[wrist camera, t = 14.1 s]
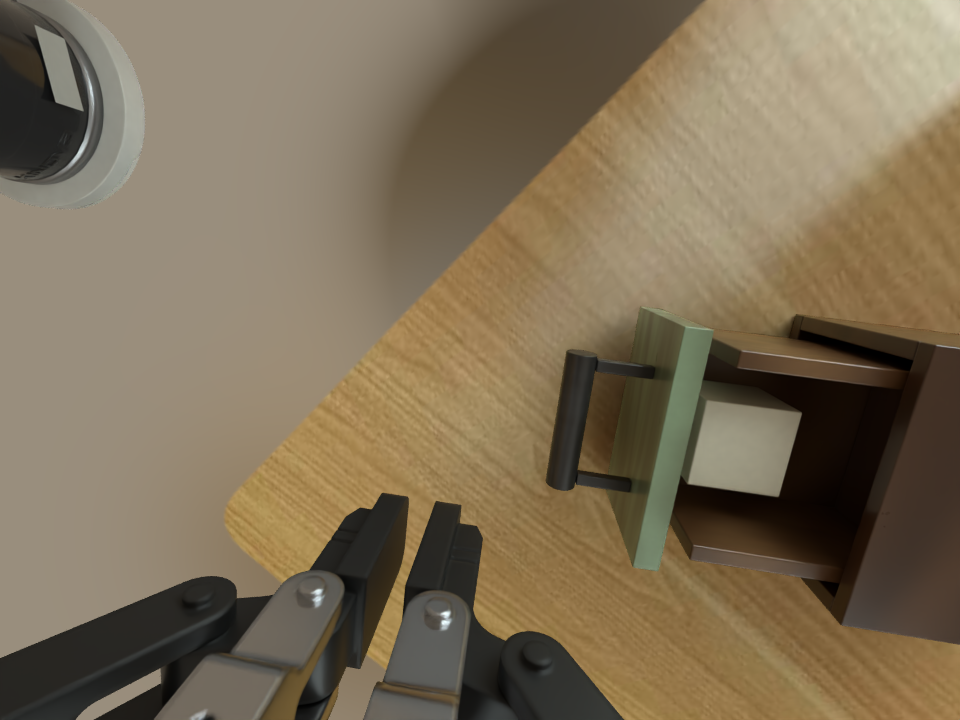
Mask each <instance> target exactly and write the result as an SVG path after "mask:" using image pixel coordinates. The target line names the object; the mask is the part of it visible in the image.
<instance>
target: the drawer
mask: <svg viewBox="0 0 960 720" xmlns="http://www.w3.org/2000/svg"><path fill="white" fill-rule="evenodd" d="M597 357H598V356H597V354H595V353H592V352H589V351H584V350H576V349H570V350H567V351H566V357H565V363H564V370H563V376H562V382H561V388H560V394H559V400H558V407H557V413H556V419H555V425H554V431H553V437H552V444H551V450H550V456H549V462H548V468H547V474H546V483H547V485H549V486H550V487H552V488H554V489H557V490H562V491H568V490H572V489H573V488H574V486H575V482H576V485H582V486H588V487H595V488H601V489H606V491H607V494H608V497H609V500H610V503H611V506H612V509H613V512H614V514H615V517H616V520H617V523H618V526H619V529H620V532H621V535H622V538H623V540H624V543H625V546H626V549H627V552H628V555H629V558H630V561H631V563H632V566H633V567H634V568H640V569H646V570H653V571H658V570H659V566H660V562H661V557H662V553H663V549H664V545H665V540H666V536H667V532H668V527H669V523H670V525H671V526H672V528H673V530H674V532H675V534H676V536H677V537H678V539H679V541H680V543H681V545H682V547H683V549H684V550H685V552H686V554H687V556H688V558H689V559H690V560H694V561H700V562H707V563H713V564H719V565H726V566H732V567H738V568H745V569H751V570H757V571H764V572H770V573H776V574H783V575H789V576H795V577H802V578H808V579H814V580H821V581H827V582H833V583H840V581H841V578H842V575H843V572H844V569H845V566H846V563H847V560H848V557H849V554H850V551H851V548H852V545H853V542H854V539H855V536H856V533H857V530H858V527H859V524H860V521H861V518H862V515H863V512H864V509H865V506H866V503H867V500H868V497H869V494H870V491H871V488H872V485H873V482H874V479H875V476H876V473H877V470H878V467H879V463H880V460H881V457H882V454H883V451H884V448H885V445H886V442H887V439H888V436H889V433H890V430H891V427H892V424H893V421H894V418H895V415H896V412H897V409H898V406H899V403H900V400H901V397H902V394H903V391H904V388H905V385H906V382H907V379H908V376H909V373H910V370H911V367H912V364H913V360H909V359H906V358H902V357H898V356H895V355H891V354H887V353H884V352H880V351H876V350H873V349H868V348H860V347H852V346H844V345H837V344H829V343H821V342H813V341H805V340H797V339H789V338H782V337H774V336H766V335H758V334H750V333H742V332H734V331H727V330H719V329H711V328H707V327H705V326H702V325H700V324H697V323H695V322H692V321H689V320H687V319H684V318H682V317H679V316H677V315H674V314H672V313H669V312H667V311H664V310H662V309H656V308H648V307H640V310H639V316H638V321H637V326H636V331H635V336H634V341H633V347H632V352H631V357H630V362H624V361H617V360H609V359H601V358H597ZM595 371H596V372H601V373H608V374H616V375H623V376H627V378H626V383H625V388H624V393H623V398H622V404H621V409H620V414H619V419H618V424H617V429H616V435H615V440H614V445H613V450H612V455H611V460H610V466H609V471H608V475H607V474H601V473H594V472H587V471H580V470H578V464H579V458H580V453H581V447H582V441H583V436H584V430H585V424H586V419H587V413H588V408H589V402H590V396H591V391H592V385H593V379H594V374H595ZM702 380H706V381H714V382H721V383H729V384H737V385H744V386H752V387H758V388H760V389H761V390H763V391H765V392H767V393H768V394H770V395H772V396H774V397H775V398H777V399H779V400H781V401H782V402H784V403H786V404H788V405H789V406H791V407H793V408H795V409H797V410H798V411H800V412H802V415H801V419H800V422H799V426H798V429H797V433H796V437H795V440H794V444H793V447H792V451H791V454H790V458H789V462H788V465H787V469H786V472H785V476H784V479H783V483H782V486H781V490H780V494H779V496H778V497H774V496H767V495H760V494H753V493H746V492H739V491H732V490H725V489H718V488H712V487H705V486H698V485H691V484H687V483H686V481H685V480H684V479H683V477H682V476H681V471H682V467H683V462H684V458H685V454H686V449H687V445H688V441H689V436H690V432H691V428H692V423H693V419H694V415H695V410H696V406H697V402H698V397H699V393H700V389H701V384H702Z"/></svg>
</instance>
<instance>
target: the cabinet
mask: <svg viewBox="0 0 960 720" xmlns="http://www.w3.org/2000/svg"><path fill="white" fill-rule="evenodd" d="M789 339H797V340H805V341H813V342H821V343H829V344H837V345H844V346H852V347H860V348H868V349H873V350H876V351H880V352H884V353H887V354H891V355H895V356H898V357H902V358H906V359H909V360H913V364H912V367H911V370H910V373H909V376H908V379H907V382H906V385H905V388H904V391H903V394H902V397H901V400H900V403H899V406H898V409H897V412H896V415H895V418H894V421H893V424H892V427H891V430H890V433H889V436H888V439H887V442H886V445H885V448H884V451H883V454H882V457H881V460H880V463H879V467H878V470H877V473H876V476H875V479H874V482H873V485H872V488H871V491H870V494H869V497H868V500H867V503H866V506H865V509H864V512H863V515H862V518H861V521H860V524H859V527H858V530H857V533H856V536H855V539H854V542H853V545H852V548H851V551H850V554H849V557H848V560H847V563H846V566H845V569H844V572H843V575H842V578H841V581H840V583H833V582H827V581H821V580H814V579H808V578H802V577H800V578H801V579H802V580H803V581H804V582H805V584H806V585H807V586H808V587H809V588H810V589H811V591H812V592H813V593H814V594H815V595H816V597H817V598H818V599H819V600H820V601H821V602H822V604H823V605H824V606H825V607H826V608H827V609H828V611H830V613H831V614H832V615H833V617H834V618H835V619H836V620H837V621H838V622H839V624H840V625H842V626H849V627H855V628H861V629H867V630H873V631H879V632H885V633H891V634H898V635H904V636H910V637H916V638H922V639H928V640H934V641H940V642H947V643H953V644H959V645H960V335H959V334H951V333H943V332H935V331H927V330H919V329H911V328H903V327H895V326H887V325H879V324H871V323H863V322H855V321H846V320H838V319H830V318H822V317H814V316H806V315H798V314H796V316H795V320H794V323H793V327H792V331H791V334H790V338H789Z"/></svg>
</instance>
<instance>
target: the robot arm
mask: <svg viewBox="0 0 960 720" xmlns="http://www.w3.org/2000/svg"><path fill="white" fill-rule="evenodd" d="M103 119H104V106H103V97H102V91H101V87H100V83H99V80H98V77H97V74H96V71H95V69H94V67H93V65H92V63H91V61H90V59H89V57H88V55H87V54H86V52H85V51H84V49H83V48H82V46H81V45H80V44H79V42H78V41H77V40H76V39H75V38H74V36H73V35H72V34H71V33H70V32H69V31H68V30H67V29H65V28H64V27H63V26H62V25H61V24H59V23H58V22H57V21H55V20H53V19H52V18H50V17H49V16H47V15H45V14H43V13H41V12H39V11H37V10H35V9H33V8H31V7H29V6H27V5H24V4H21V3H19V2H17V0H0V177H2V178H5V179H8V180H11V181H16V182H22V183H29V184H36V185H49V184H55V183H59V182H62V181H65V180H67V179H69V178H71V177H72V176H74V175H76V174H77V173H78V172H79V171H81V170H82V169H83V168H84V167H85V166H86V164H87V163H88V162H89V161H90V159H91V158H92V156H93V154H94V153H95V151H96V149H97V146H98V144H99V141H100V137H101V133H102V128H103ZM408 507H409V498H408V497H407V496H400V495H394V494H387V493H382V494H381V495H380V497H379V499H378V500H377V502H376V504H375V505H374V507H373V509H365V508H359V509H357V510H356V511H354V512H353V513H351V514H349V515H348V516H346V517H345V519H344V520H343V522H342V523H341V525H340V526H339V528H338V530H337V531H336V532H335V533H334V535H333V536H332V539H331V540H330V541H329V542H328V544H327V545H326V547H325V548H324V550H323V551H322V553H321V554H320V555H319V557H318V558H317V560H316V561H315V563H314V564H313V566H312V567H311V569H310V570H309V571H305V572H301V573H298V574H296V575H294V576H292V577H290V578H288V579H287V580H286V581H285V582H283V584H282V585H281V586H280V587H279V588H278V590H277V591H276V592H275V594H274V595H270V596H262V597H250V598H237V590H236V587H235V585H234V583H232V582H231V581H230V580H228V579H225V578H223V577H217V576H207V577H200V578H196V579H191V580H189V581H186V582H183V583H181V584H179V585H176V586H174V587H171V588H169V589H167V590H164V591H162V592H159V593H157V594H154V595H152V596H149V597H147V598H145V599H142V600H140V601H137V602H135V603H133V604H130V605H128V606H125V607H123V608H120V609H118V610H116V611H113V612H111V613H108V614H106V615H104V616H101V617H99V618H96V619H94V620H92V621H89V622H87V623H84V624H82V625H79V626H77V627H74V628H72V629H70V630H68V631H65V632H63V633H60V634H58V635H55V636H53V637H50V638H48V639H46V640H43V641H41V642H38V643H36V644H34V645H31V646H28V647H26V648H24V649H21V650H19V651H16V652H14V653H12V654H9V655H7V656H4V657H2V658H0V720H76V718H77V717H78V716H79V715H80V714H81V712H83V711H84V710H85V709H86V708H87V707H88V706H90V705H91V704H93V703H94V702H96V701H98V700H100V699H102V698H104V697H106V696H107V695H109V694H111V693H113V692H115V691H117V690H119V689H121V688H123V687H125V686H127V685H129V684H131V683H132V682H134V681H136V680H138V679H140V678H142V677H144V676H146V675H148V674H150V673H152V672H154V671H156V670H157V669H159V668H161V684H159V685H157V686H155V687H154V688H152V689H150V690H148V691H146V692H144V693H142V694H140V695H139V696H137V697H135V698H133V699H132V700H129V701H128V702H126V703H124V704H122V705H120V706H118V707H117V708H115V709H113V710H111V711H109V712H107V713H105V714H104V715H102V716H100V717H98V718H96V719H94V720H328V718H329V716H330V714H331V712H332V709H333V707H334V705H335V702H336V700H337V697H338V687H339V682H340V680H341V678H342V676H343V674H344V671H345V669H346V667H352V668H357V669H360V668H361V666H362V663H363V661H364V658H365V656H366V653H367V651H368V648H369V646H370V643H371V640H372V638H373V635H374V633H375V630H376V628H377V625H378V623H379V620H380V618H381V615H382V613H383V610H384V608H385V605H386V603H387V600H388V598H389V595H390V593H391V590H392V588H393V585H394V583H395V580H396V578H397V575H398V573H399V570H400V567H401V563H402V559H403V555H404V549H405V539H406V528H407V517H408ZM460 517H461V505H458V504H452V503H445V502H439V501H436V502H435V505H434V508H433V510H432V513H431V516H430V519H429V521H428V524H427V527H426V530H425V533H424V535H423V538H422V541H421V544H420V546H419V549H418V552H417V555H416V557H415V560H414V563H413V566H412V569H411V571H410V574H409V577H408V580H407V582H406V585H405V596H404V606H403V617H402V623H401V626H400V629H399V632H398V635H397V638H396V641H395V645H394V648H393V651H392V654H391V657H390V660H389V663H388V666H387V670H386V673H385V676H384V679H383V682H377V683H376V685H375V687H374V689H373V692H372V695H371V698H370V701H369V704H368V707H367V710H366V713H365V716H364V719H363V720H624V719H623V718H622V717H621V716H620V714H619V713H618V712H617V711H616V710H615V708H614V707H613V706H612V705H611V704H610V702H609V701H608V700H607V699H606V698H605V696H604V695H603V694H602V693H601V692H600V690H599V689H598V688H597V687H596V686H595V684H594V683H593V682H592V681H591V680H590V678H589V677H588V676H587V675H586V674H585V672H584V671H583V670H582V669H581V668H580V666H579V665H578V664H577V663H576V662H575V660H574V659H573V658H572V657H571V656H570V654H569V653H568V652H567V651H566V650H565V648H564V647H563V646H562V645H561V644H560V643H559V642H557V641H556V640H555V639H553V638H551V637H549V636H547V635H545V634H542V633H539V632H533V631H525V632H519V633H516V634H514V635H512V636H511V637H509V638H508V639H507V640H506V641H505V640H503V639H500V638H498V637H496V636H494V635H492V634H491V633H489V632H488V631H487V630H485V629H484V628H483V627H482V626H481V625H480V623H479V622H478V621H477V619H476V617H475V615H474V611H473V607H474V600H475V593H476V586H477V578H478V571H479V564H480V556H481V549H482V541H483V538H482V535H481V533H480V531H479V529H478V527H477V526H473V525H467V524H461V523H460Z"/></svg>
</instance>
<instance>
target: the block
mask: <svg viewBox="0 0 960 720" xmlns="http://www.w3.org/2000/svg"><path fill="white" fill-rule="evenodd" d="M801 415H802V412H800V411H798V410H797V409H795V408H793V407H791V406H789V405H788V404H786V403H784V402H782V401H781V400H779V399H777V398H775V397H774V396H772V395H770V394H768V393H767V392H765V391H763V390H761V389H760V388H758V387H752V386H744V385H737V384H729V383H721V382H714V381H706V380H702V384H701V389H700V393H699V397H698V402H697V406H696V410H695V415H694V419H693V423H692V428H691V432H690V436H689V441H688V445H687V449H686V454H685V458H684V462H683V467H682V471H681V476H682V477H683V479H684V480H685V481H686V483H687V484H691V485H698V486H705V487H712V488H718V489H725V490H732V491H739V492H746V493H753V494H760V495H767V496H774V497H778V496H779V494H780V490H781V486H782V483H783V479H784V476H785V472H786V469H787V465H788V462H789V458H790V454H791V451H792V447H793V444H794V440H795V437H796V433H797V429H798V426H799V422H800V419H801Z"/></svg>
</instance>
